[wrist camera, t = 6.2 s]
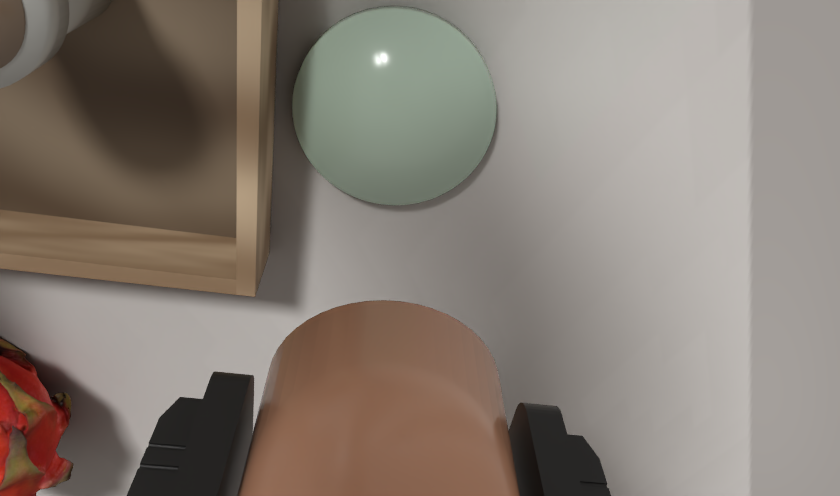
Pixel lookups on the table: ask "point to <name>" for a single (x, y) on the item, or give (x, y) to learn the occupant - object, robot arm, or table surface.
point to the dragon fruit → (29, 428)
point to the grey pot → (38, 32)
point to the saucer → (394, 105)
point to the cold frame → (146, 148)
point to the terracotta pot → (381, 409)
